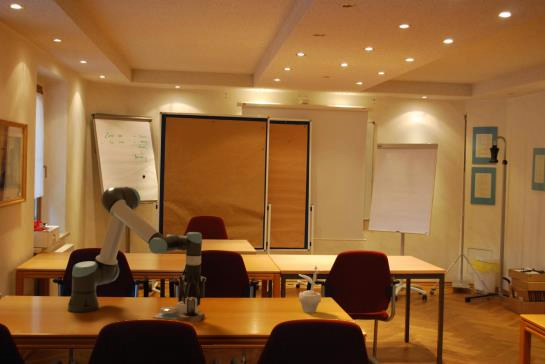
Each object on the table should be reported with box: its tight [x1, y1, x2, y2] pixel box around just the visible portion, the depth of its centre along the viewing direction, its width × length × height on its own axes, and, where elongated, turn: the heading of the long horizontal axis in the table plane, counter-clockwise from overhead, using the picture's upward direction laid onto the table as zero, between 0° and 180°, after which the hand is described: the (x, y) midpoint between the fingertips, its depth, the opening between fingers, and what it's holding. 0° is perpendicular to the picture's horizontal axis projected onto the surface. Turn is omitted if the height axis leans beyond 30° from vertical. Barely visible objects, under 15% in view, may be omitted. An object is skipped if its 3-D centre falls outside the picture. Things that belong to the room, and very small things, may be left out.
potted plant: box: [298, 266, 322, 314], centre depth 295 cm, size 13×12×25 cm
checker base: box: [152, 312, 179, 321], centre depth 277 cm, size 12×12×1 cm
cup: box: [175, 301, 187, 315], centre depth 279 cm, size 6×6×6 cm
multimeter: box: [177, 270, 187, 303], centre depth 292 cm, size 15×10×20 cm
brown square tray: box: [177, 311, 205, 323], centre depth 273 cm, size 10×10×2 cm
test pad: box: [159, 306, 179, 314], centre depth 277 cm, size 9×9×2 cm
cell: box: [187, 296, 197, 316], centre depth 273 cm, size 4×4×9 cm
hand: (191, 311), depth 273 cm, fingers closed on cell, 4 cm apart
